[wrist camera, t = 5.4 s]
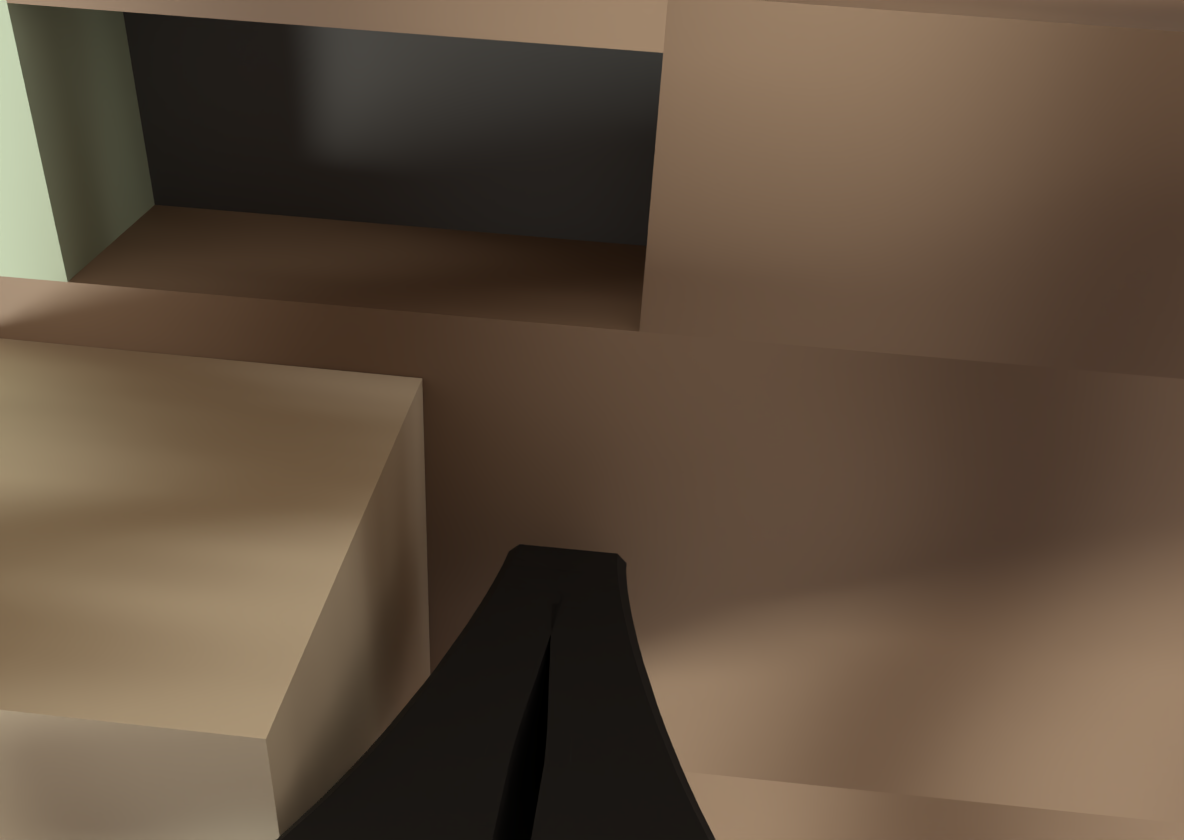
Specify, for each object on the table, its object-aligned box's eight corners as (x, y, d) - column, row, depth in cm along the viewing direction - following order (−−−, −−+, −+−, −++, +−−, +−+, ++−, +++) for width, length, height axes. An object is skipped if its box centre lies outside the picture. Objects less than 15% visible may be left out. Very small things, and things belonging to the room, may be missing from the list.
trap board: (1708, 18, 11) (1937, 87, 9) (1239, 845, 18) (1309, 992, 16) (-673, -152, 12) (-954, -127, 10) (-257, 689, 19) (-375, 807, 17)
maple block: (422, 377, 12) (265, 739, 8) (431, 709, 15) (318, 1110, 10) (-33, 335, 12) (-427, 662, 8) (58, 668, 15) (-201, 1046, 11)
